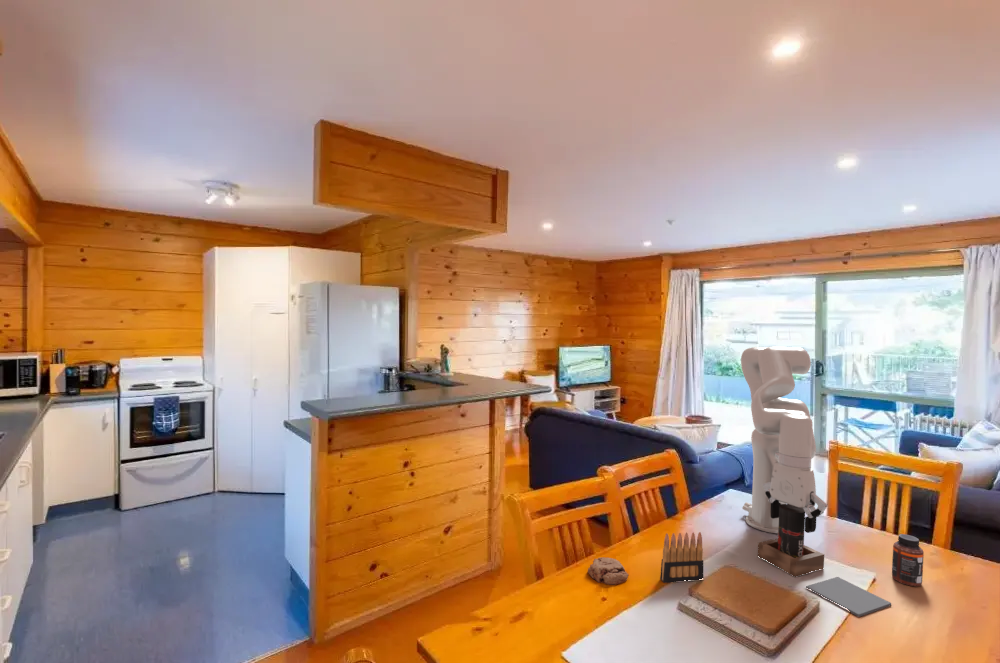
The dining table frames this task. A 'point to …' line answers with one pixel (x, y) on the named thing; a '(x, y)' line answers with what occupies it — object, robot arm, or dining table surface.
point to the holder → (791, 558)
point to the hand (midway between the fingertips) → (792, 524)
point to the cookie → (607, 571)
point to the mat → (849, 596)
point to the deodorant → (791, 530)
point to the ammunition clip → (682, 559)
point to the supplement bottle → (907, 561)
